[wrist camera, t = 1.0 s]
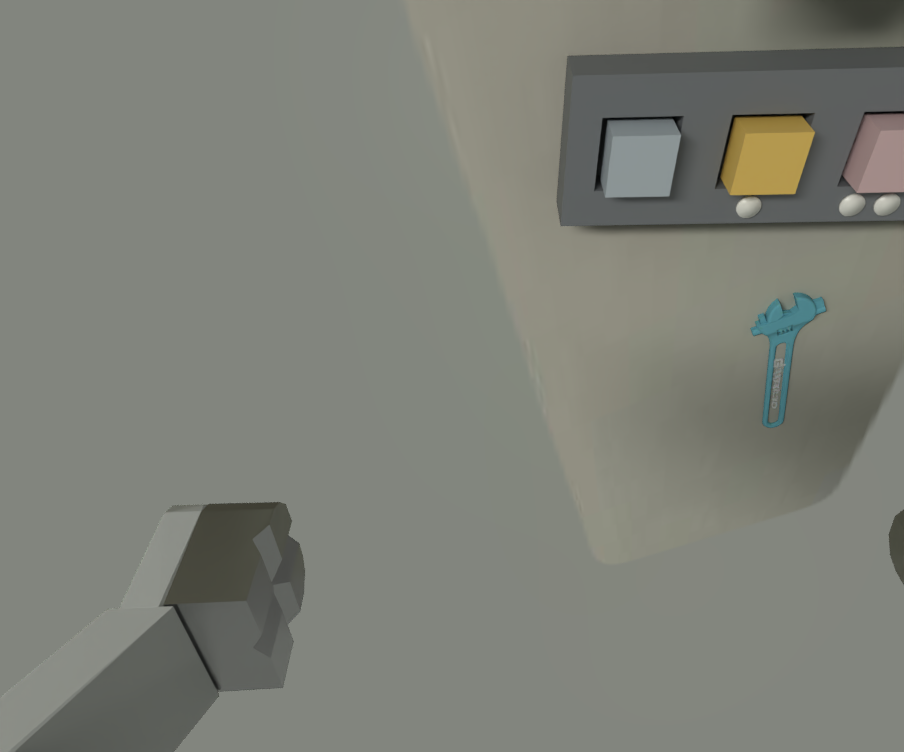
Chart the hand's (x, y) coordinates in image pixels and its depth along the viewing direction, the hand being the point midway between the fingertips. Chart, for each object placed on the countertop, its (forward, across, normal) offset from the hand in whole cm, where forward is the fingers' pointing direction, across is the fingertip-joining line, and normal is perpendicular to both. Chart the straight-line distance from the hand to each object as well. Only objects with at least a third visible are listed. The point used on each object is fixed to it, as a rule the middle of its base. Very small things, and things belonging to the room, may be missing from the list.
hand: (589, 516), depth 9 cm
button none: (+34, -8, +7) cm, 35 cm away
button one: (+34, -15, +7) cm, 38 cm away
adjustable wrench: (+39, -21, +26) cm, 51 cm away
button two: (+34, -21, +8) cm, 41 cm away
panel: (+36, -15, +7) cm, 40 cm away
